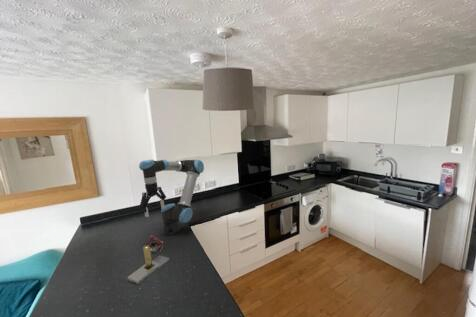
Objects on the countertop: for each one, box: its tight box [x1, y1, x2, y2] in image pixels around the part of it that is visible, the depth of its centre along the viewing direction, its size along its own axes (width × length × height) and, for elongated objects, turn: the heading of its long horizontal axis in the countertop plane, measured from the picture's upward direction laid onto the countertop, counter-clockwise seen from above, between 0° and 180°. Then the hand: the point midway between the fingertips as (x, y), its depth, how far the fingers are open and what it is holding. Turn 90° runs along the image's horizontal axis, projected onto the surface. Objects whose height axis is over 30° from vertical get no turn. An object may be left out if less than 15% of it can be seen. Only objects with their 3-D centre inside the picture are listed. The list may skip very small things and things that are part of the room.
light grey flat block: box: [126, 262, 160, 285], centre depth 119 cm, size 16×9×2 cm, turn 153°
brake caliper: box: [145, 235, 164, 254], centre depth 144 cm, size 11×11×12 cm
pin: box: [142, 244, 153, 270], centre depth 121 cm, size 4×4×15 cm
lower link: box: [145, 254, 170, 276], centre depth 126 cm, size 16×9×1 cm, turn 153°
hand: (155, 212), depth 137 cm, fingers open, 13 cm apart
